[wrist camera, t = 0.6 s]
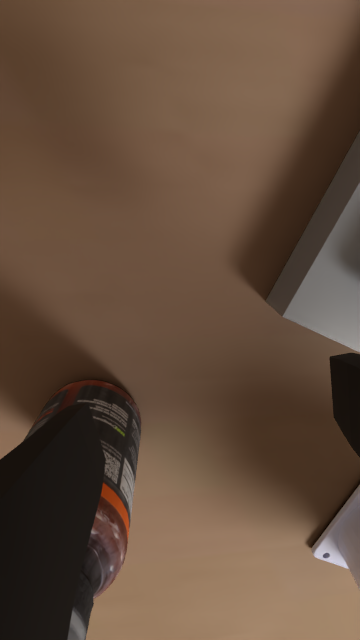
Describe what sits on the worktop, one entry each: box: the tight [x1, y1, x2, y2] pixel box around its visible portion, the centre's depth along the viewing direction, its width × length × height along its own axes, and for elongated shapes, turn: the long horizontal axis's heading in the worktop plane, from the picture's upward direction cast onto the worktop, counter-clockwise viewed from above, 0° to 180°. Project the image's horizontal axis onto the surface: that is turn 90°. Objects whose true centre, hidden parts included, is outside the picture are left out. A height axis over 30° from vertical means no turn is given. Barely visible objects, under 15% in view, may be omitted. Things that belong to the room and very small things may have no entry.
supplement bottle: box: [24, 380, 141, 640], centre depth 16 cm, size 6×6×11 cm
